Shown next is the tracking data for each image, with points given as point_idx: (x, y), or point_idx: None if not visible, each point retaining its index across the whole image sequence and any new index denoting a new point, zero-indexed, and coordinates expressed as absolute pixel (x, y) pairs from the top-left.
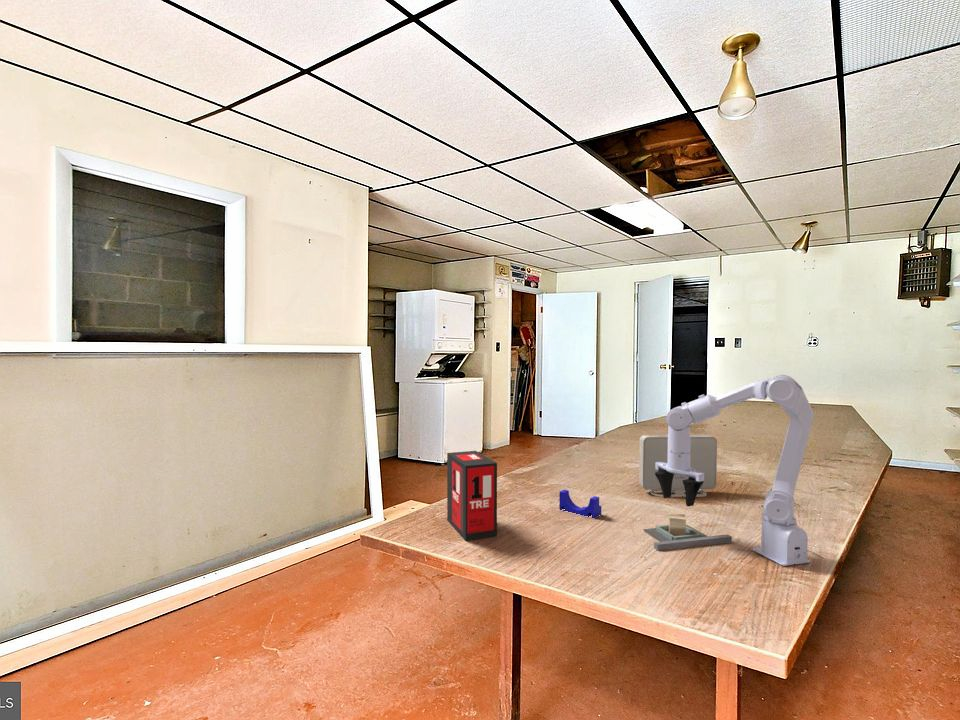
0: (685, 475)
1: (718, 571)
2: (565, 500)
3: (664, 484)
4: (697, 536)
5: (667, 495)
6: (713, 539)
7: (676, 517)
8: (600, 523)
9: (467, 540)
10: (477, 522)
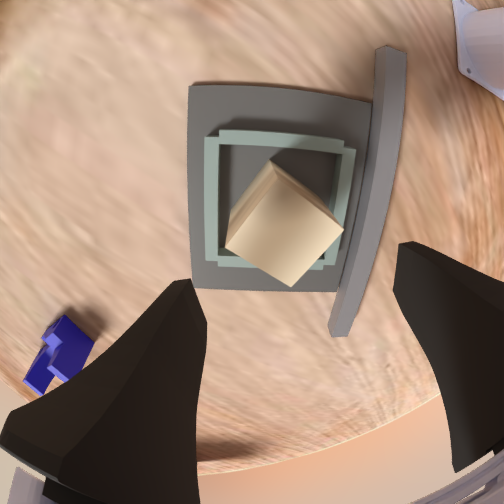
0: (466, 490)
1: (472, 262)
2: (51, 380)
3: (190, 418)
4: (351, 165)
5: (197, 320)
6: (398, 134)
7: (302, 256)
8: None
9: (196, 461)
10: None
